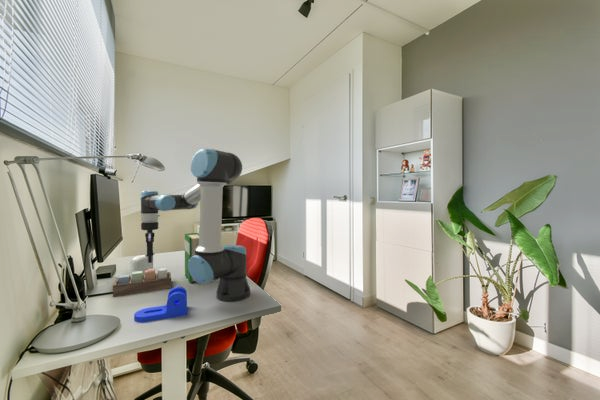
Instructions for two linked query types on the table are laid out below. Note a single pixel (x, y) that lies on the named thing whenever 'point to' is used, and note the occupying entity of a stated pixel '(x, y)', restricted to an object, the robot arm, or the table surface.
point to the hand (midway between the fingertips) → (150, 268)
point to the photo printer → (139, 264)
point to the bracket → (165, 307)
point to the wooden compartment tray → (142, 285)
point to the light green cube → (137, 276)
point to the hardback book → (190, 251)
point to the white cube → (162, 273)
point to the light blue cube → (124, 279)
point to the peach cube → (149, 275)
